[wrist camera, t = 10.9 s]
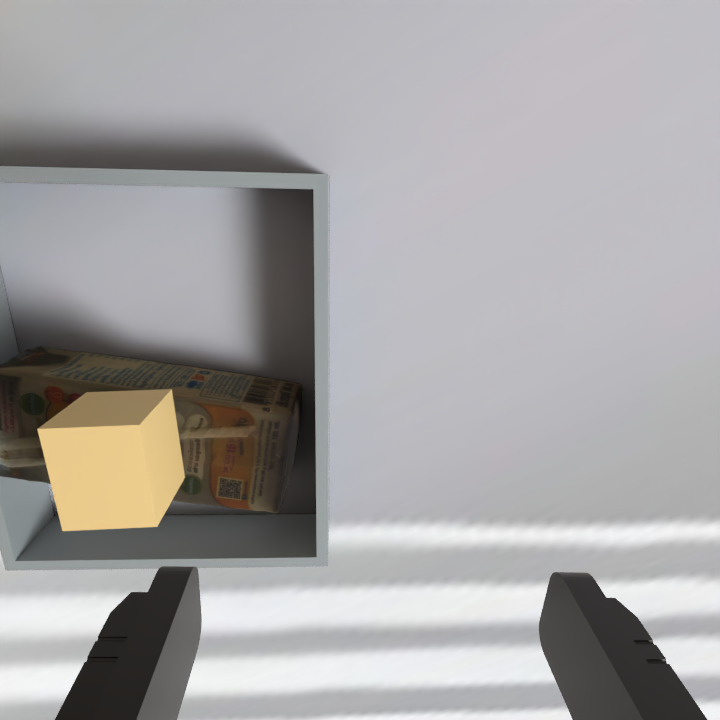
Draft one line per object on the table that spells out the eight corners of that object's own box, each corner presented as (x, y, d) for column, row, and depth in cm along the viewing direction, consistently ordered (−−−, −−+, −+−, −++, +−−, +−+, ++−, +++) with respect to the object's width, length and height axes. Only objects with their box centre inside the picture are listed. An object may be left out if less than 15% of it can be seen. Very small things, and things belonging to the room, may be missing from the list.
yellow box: (86, 392, 29) (37, 429, 24) (171, 389, 29) (139, 424, 24) (104, 480, 31) (62, 531, 26) (185, 477, 31) (157, 526, 26)
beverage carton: (36, 336, 34) (-30, 369, 28) (307, 377, 36) (301, 415, 30) (39, 436, 37) (-21, 486, 31) (293, 469, 39) (284, 522, 33)
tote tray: (-35, 167, 30) (-103, 163, 26) (329, 176, 31) (327, 174, 27) (45, 524, 39) (5, 570, 34) (328, 522, 40) (327, 566, 35)
